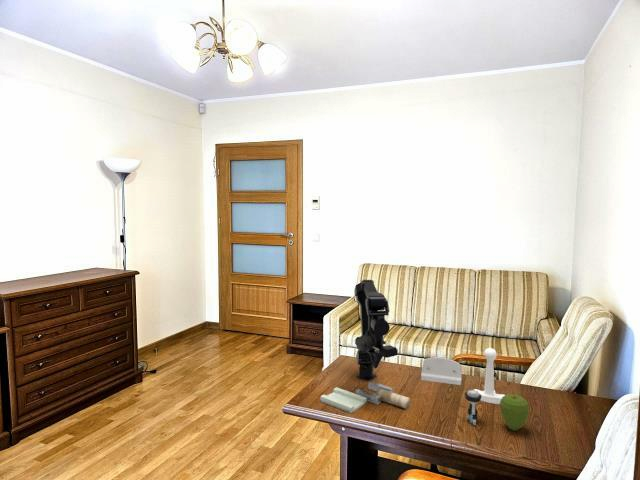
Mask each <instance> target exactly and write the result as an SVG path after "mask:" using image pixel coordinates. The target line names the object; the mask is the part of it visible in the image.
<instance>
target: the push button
mask: <svg viewBox="0 0 640 480" xmlns="http://www.w3.org/2000/svg"><path fill="white" fill-rule="evenodd" d="M464 396H465V397H464V398H465V400H466V401H468V402H469V407H468V409H467V417H468V420H469V422H470V424H472V425H473V426H474V425H475V426H477V422H478V409H477V404H478V403H479V402H482V401H481V397H482V396H481V394H479V392H478V391H476V390H474V389H468V390H467V391H466V392H465V393H464Z"/></svg>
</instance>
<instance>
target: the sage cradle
mask: <svg viewBox="0 0 640 480" xmlns="http://www.w3.org/2000/svg"><path fill="white" fill-rule="evenodd" d="M319 399H320V403H323V404H326V405H328V406H331V407H334V408H336V409H339V410H341V411H344V412H347V413H350V414H352V413H354V412H355V411H357V410H358V409H360V408H361V407H363V406H364V405H365V404H367V403H368V401H367V398H366V397H363V396H360V395H357V394H356V393H354V392H351V391H349V390H346V389H343V388H339V387H334V388H333V391H332V392H331V393H329V394H322V395H321V396H320V398H319Z"/></svg>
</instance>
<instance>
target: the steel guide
mask: <svg viewBox="0 0 640 480" xmlns="http://www.w3.org/2000/svg"><path fill="white" fill-rule="evenodd" d="M367 386H368V387H367V388H368V390H371V391H373V392H375V393H372V392H370V391H366V390H364V389H362V388H361V389H360V388H357V389H355V394H357V395H360V396H363V397H366V398H367V402H370V403H371V404H375V405H377V406H378V405H380V404H381V403H382V401H381V396H379V395H376V392H377V390H378V389H379V388H380V389H383V390H386V391H390V392H393V393H394V387H392V386H391V387H390V386H387V385H384V384H381V383H378V382H374V381H372V380H371V381H370V380H369V382H368V383H367Z"/></svg>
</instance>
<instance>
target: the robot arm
mask: <svg viewBox="0 0 640 480" xmlns="http://www.w3.org/2000/svg"><path fill="white" fill-rule="evenodd" d="M353 291H354V297H355V300H356V303H357V304H358V305H359V311H360V329H361V330H360V332H361V335H360V336H356V338H354V339H355V340H354V345H356V349H357V351H356V355H355V360H356V363H357V365H359V366H358V369H359V370H358V372H359V373H358V374H357V375H356V378H359V379H362V380H366V381H369V382H370V380H371V381H372V380H373V379H374V378H376V377H377V374H376V373H374V372H375V370H374V369H378V367H379V365H380V363H381V361H382V359H383V358H385V359H386V358H387V359H388V358H392V357H395V356H398V352H399V351H398V348H397V347H396V346H393V345H391V344H389V345H386V341H385V340H384V337H385V336H387V334H388V333H389V332H390V329H391V328H390V327H391V326H390V324H389V323H388V321H387V320H386V317H385V316H389V314H390V306H389V301H388V299H387V297H385V295H384V294H383V293H381V292H379V291H378V290H377V288H376V285H375V281H374V279H373V280H372V279H362V280H360V282H358V283H357V284H356V285H355V286H354V290H353Z"/></svg>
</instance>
